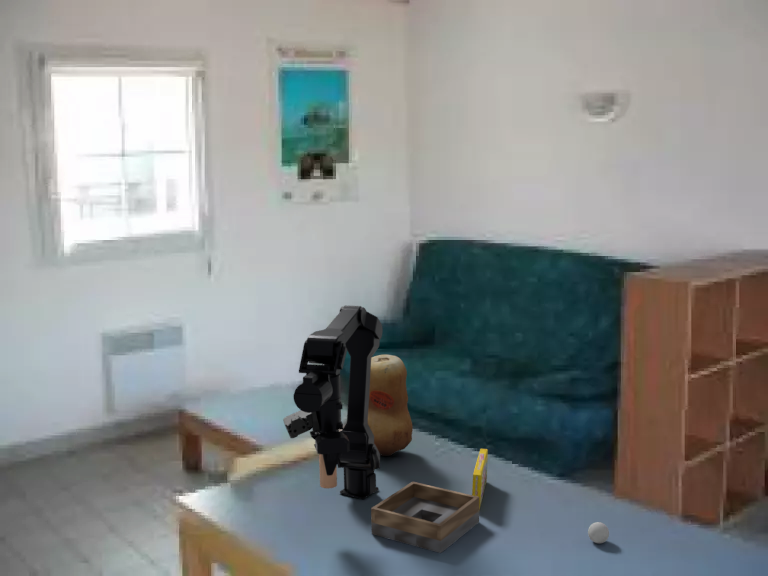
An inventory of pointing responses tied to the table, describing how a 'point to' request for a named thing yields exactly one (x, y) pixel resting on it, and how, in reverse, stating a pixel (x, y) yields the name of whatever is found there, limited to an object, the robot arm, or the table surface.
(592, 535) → the sports ball
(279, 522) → the table surface
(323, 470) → the peg
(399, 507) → the bore box
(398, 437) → the butternut squash
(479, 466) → the candy box
